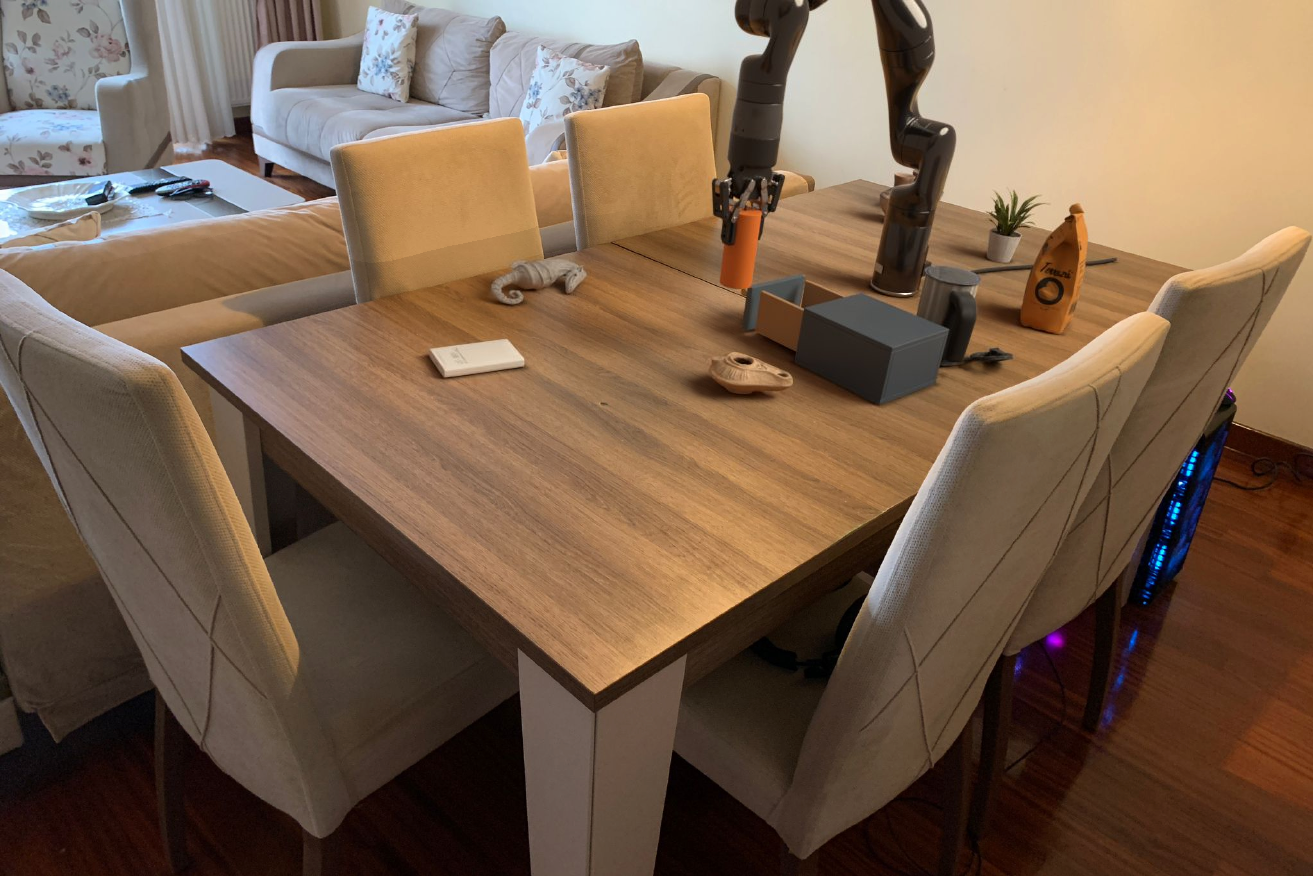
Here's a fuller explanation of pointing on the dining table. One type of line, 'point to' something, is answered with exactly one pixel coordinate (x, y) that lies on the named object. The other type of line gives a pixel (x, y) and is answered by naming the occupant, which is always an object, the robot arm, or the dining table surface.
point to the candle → (741, 251)
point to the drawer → (782, 307)
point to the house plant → (1007, 228)
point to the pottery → (898, 180)
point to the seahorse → (537, 277)
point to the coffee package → (1057, 276)
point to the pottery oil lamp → (747, 374)
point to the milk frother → (954, 312)
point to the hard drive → (476, 358)
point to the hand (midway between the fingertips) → (741, 241)
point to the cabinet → (870, 347)
